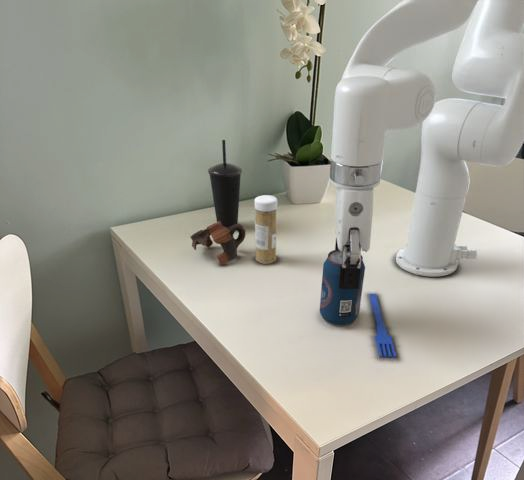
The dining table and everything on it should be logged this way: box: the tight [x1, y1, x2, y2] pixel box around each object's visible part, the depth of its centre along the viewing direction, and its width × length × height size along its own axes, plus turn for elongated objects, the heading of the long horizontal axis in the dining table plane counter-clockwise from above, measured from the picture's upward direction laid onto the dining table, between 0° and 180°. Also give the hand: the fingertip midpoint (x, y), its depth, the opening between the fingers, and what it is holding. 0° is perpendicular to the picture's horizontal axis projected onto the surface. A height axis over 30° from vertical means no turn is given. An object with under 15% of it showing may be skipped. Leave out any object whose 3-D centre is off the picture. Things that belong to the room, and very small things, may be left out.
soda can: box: [319, 249, 366, 327], centre depth 87 cm, size 7×7×12 cm
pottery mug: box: [189, 221, 247, 266], centre depth 109 cm, size 12×10×8 cm
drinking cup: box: [207, 139, 243, 227], centre depth 116 cm, size 8×8×20 cm
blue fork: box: [368, 293, 397, 359], centre depth 88 cm, size 19×3×1 cm, turn 177°
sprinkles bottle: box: [254, 194, 278, 265], centre depth 104 cm, size 5×5×14 cm
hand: (345, 273), depth 85 cm, fingers open, 9 cm apart
